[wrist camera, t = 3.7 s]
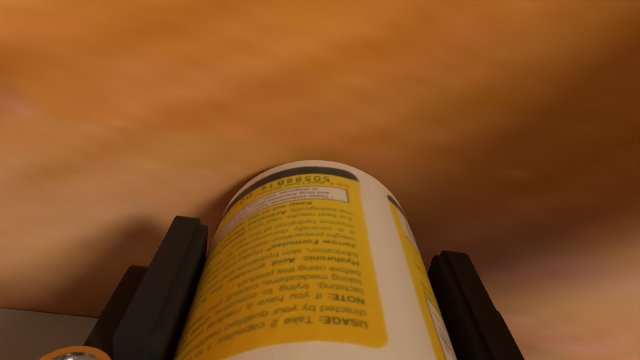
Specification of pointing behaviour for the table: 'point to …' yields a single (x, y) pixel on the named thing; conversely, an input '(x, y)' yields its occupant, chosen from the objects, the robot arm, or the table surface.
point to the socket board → (40, 333)
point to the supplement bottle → (314, 274)
